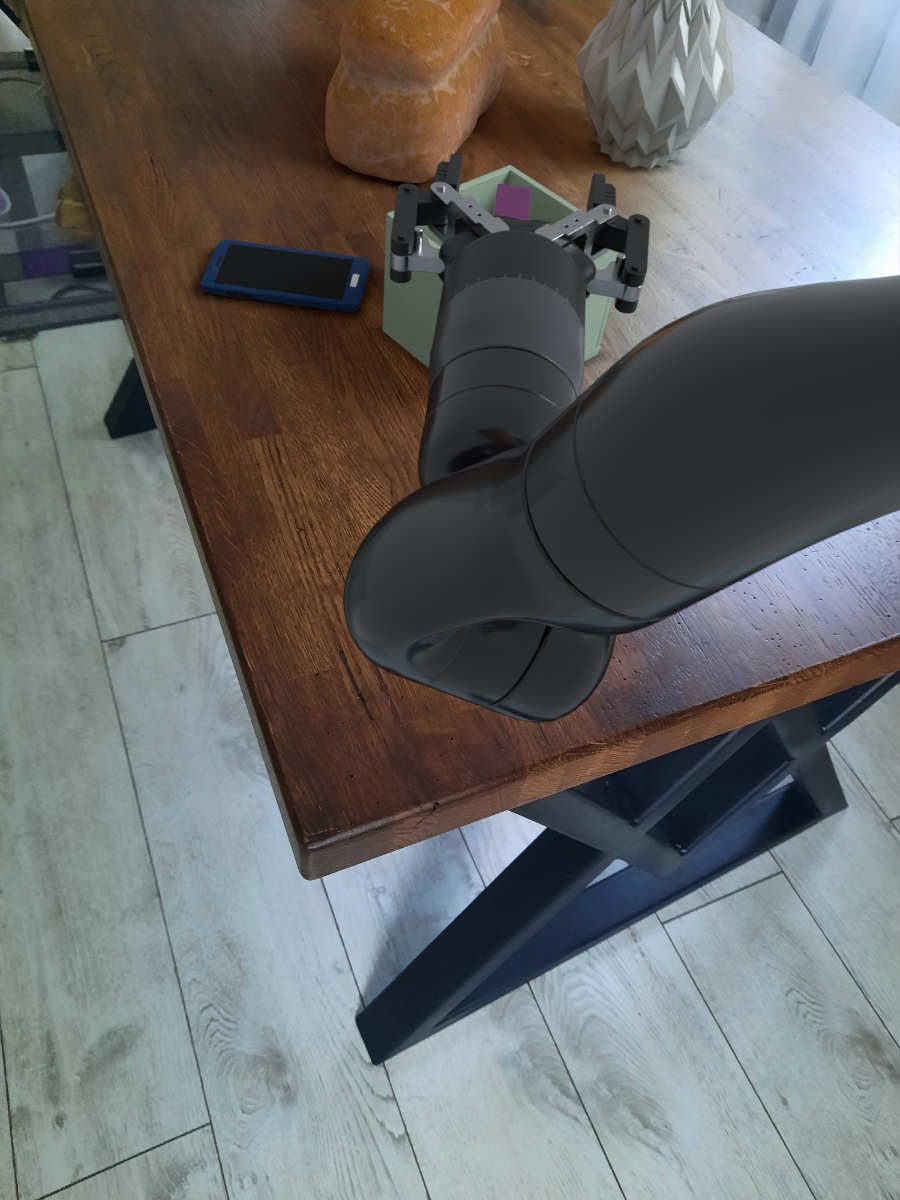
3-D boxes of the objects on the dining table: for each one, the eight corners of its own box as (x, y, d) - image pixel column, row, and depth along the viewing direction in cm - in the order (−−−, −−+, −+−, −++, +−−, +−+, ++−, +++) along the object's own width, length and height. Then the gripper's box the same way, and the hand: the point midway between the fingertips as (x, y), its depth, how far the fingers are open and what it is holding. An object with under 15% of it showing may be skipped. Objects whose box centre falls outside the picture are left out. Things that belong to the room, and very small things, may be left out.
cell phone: (358, 314, 80) (358, 306, 79) (198, 292, 80) (197, 285, 79) (371, 265, 85) (371, 258, 84) (219, 245, 84) (219, 237, 84)
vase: (532, 137, 101) (562, -59, 87) (633, 101, 109) (677, -86, 94) (640, 207, 95) (692, 6, 80) (740, 163, 102) (805, -28, 87)
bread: (312, 166, 94) (306, -1, 82) (402, 63, 110) (408, -90, 97) (437, 199, 92) (450, 33, 80) (511, 90, 108) (531, -63, 96)
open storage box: (494, 278, 85) (510, 164, 77) (598, 354, 80) (628, 240, 71) (382, 330, 79) (385, 213, 71) (486, 415, 74) (504, 300, 65)
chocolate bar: (480, 315, 80) (497, 182, 71) (511, 319, 80) (532, 187, 71) (475, 352, 77) (492, 219, 68) (507, 356, 77) (529, 223, 68)
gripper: (670, 301, 43) (658, 131, 53) (367, 261, 43) (411, 98, 53) (632, 422, 49) (627, 249, 59) (365, 387, 49) (405, 220, 59)
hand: (525, 178), depth 56 cm, fingers open, 8 cm apart
